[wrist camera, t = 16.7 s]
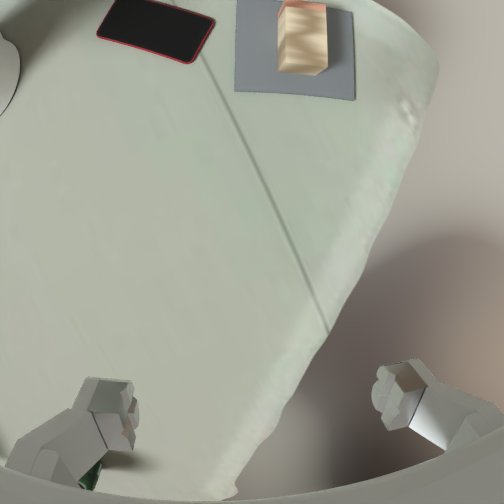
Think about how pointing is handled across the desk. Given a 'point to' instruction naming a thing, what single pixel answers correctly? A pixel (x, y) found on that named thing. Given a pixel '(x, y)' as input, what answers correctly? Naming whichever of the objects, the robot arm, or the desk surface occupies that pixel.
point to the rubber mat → (266, 54)
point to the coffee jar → (90, 477)
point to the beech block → (302, 37)
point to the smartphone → (156, 28)
